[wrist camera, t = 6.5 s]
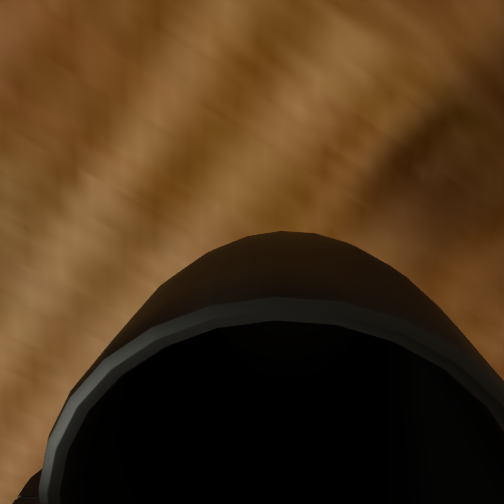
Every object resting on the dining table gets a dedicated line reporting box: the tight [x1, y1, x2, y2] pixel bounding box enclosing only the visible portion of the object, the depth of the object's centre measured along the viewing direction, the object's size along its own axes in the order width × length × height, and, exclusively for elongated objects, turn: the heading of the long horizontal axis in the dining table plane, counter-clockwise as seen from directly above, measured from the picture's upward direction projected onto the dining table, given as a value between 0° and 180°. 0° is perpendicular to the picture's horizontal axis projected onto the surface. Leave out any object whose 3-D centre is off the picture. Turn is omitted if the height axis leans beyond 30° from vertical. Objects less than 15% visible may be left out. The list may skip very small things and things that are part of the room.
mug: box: [39, 231, 504, 504], centre depth 12 cm, size 8×12×10 cm
